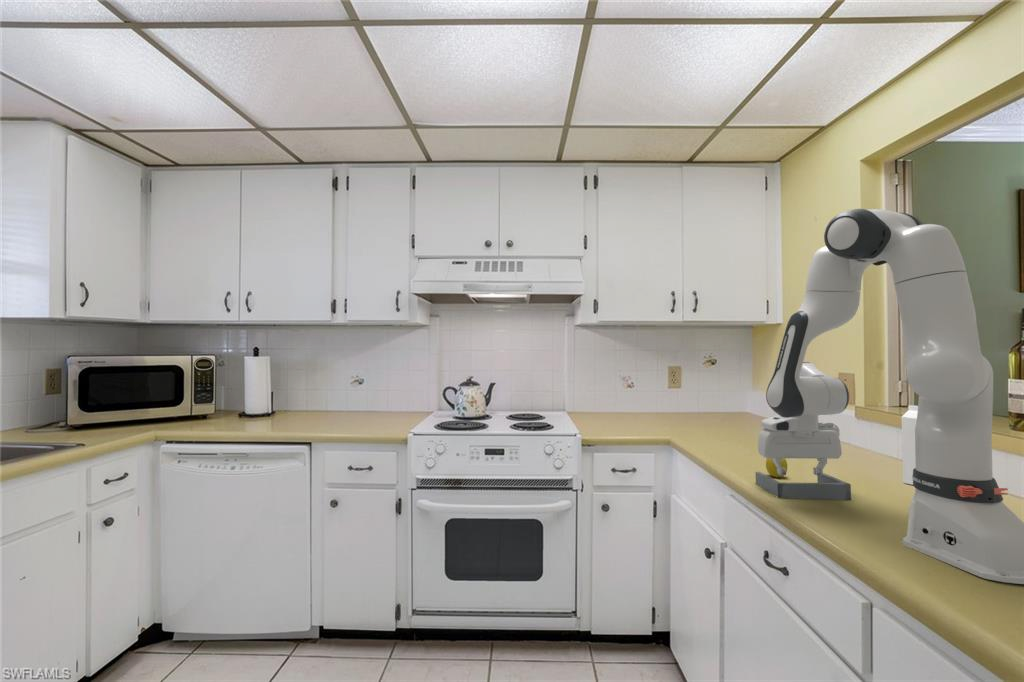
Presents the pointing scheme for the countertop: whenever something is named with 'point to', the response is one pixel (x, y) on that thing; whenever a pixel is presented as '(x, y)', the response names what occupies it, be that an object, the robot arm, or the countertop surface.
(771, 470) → the lemon
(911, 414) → the milk
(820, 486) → the box
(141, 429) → the countertop surface
